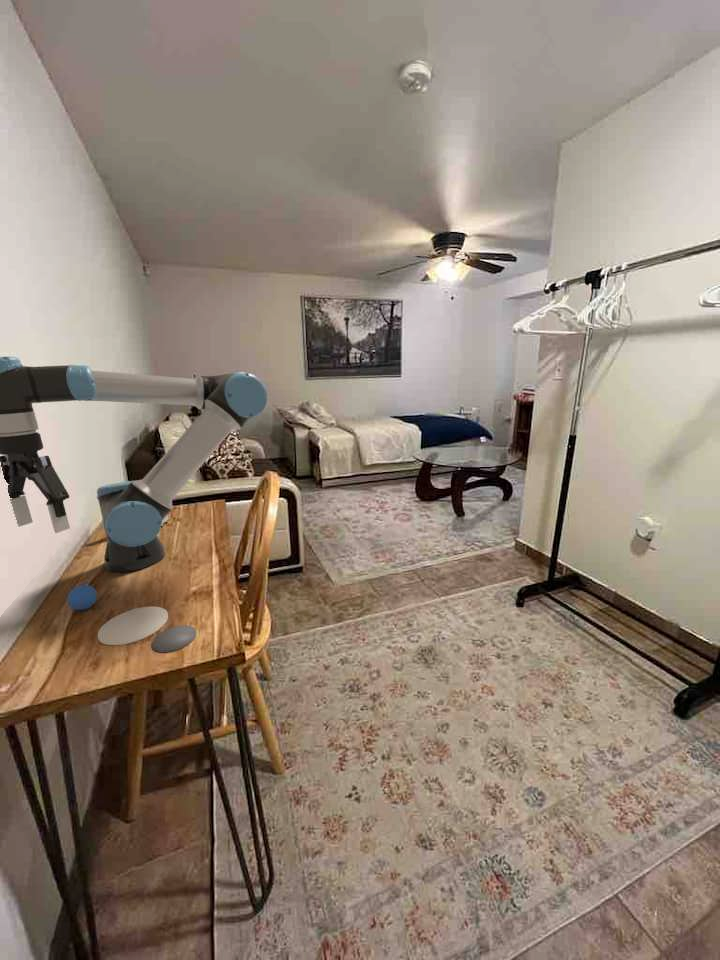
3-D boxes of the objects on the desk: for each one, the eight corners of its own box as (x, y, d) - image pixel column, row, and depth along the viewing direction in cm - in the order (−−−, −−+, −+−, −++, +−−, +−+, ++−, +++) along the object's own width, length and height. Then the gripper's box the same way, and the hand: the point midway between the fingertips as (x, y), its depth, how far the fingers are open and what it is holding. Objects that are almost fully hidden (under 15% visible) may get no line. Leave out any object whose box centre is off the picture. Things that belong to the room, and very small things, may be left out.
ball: (80, 601, 92) (75, 580, 91) (104, 600, 92) (99, 579, 91) (64, 615, 87) (58, 593, 85) (89, 614, 87) (84, 592, 85)
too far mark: (163, 627, 81) (163, 626, 81) (202, 625, 81) (202, 624, 81) (144, 653, 73) (143, 652, 73) (187, 651, 74) (186, 650, 74)
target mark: (120, 608, 88) (120, 608, 88) (178, 605, 89) (178, 604, 89) (82, 647, 76) (82, 646, 76) (150, 643, 76) (150, 642, 76)
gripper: (-38, 435, 84) (-9, 527, 89) (32, 437, 74) (60, 540, 80) (3, 430, 91) (29, 516, 96) (73, 431, 81) (96, 526, 87)
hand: (43, 527), depth 88 cm, fingers open, 13 cm apart
